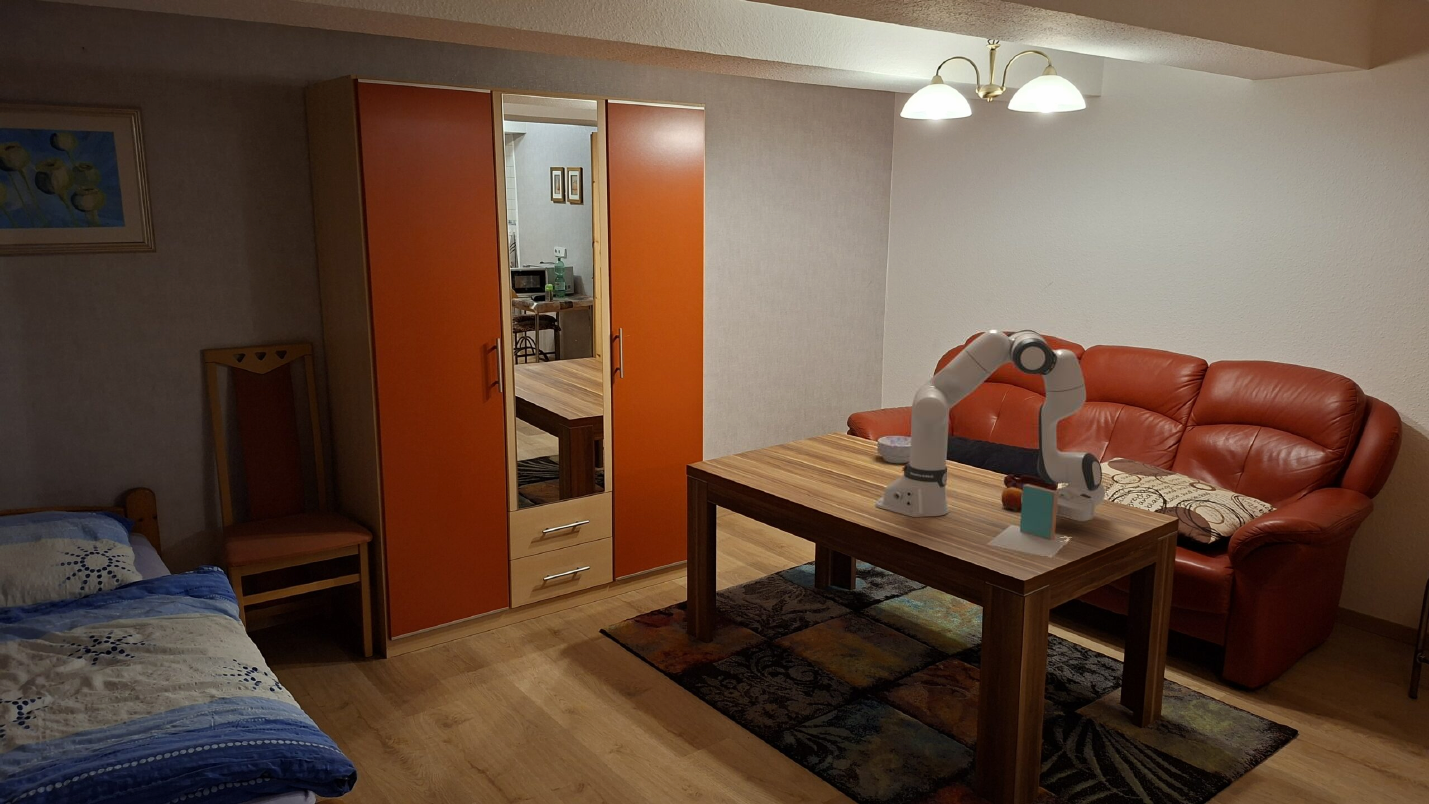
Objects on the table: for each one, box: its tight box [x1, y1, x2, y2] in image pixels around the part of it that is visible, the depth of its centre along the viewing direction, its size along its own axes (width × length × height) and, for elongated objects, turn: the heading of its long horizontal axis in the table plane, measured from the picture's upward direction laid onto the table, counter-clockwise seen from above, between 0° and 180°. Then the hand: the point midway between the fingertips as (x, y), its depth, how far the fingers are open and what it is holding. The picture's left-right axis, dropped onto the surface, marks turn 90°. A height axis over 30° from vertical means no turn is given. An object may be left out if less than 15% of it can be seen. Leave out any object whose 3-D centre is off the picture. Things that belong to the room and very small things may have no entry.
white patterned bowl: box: [877, 435, 911, 464], centre depth 358 cm, size 15×15×8 cm
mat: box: [986, 524, 1070, 559], centre depth 271 cm, size 18×21×1 cm
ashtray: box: [1003, 473, 1058, 491], centre depth 315 cm, size 18×16×5 cm
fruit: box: [1001, 487, 1023, 512], centre depth 300 cm, size 8×8×8 cm
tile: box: [1019, 484, 1058, 540], centre depth 274 cm, size 2×10×14 cm, turn 40°
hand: (1041, 510), depth 275 cm, fingers closed
